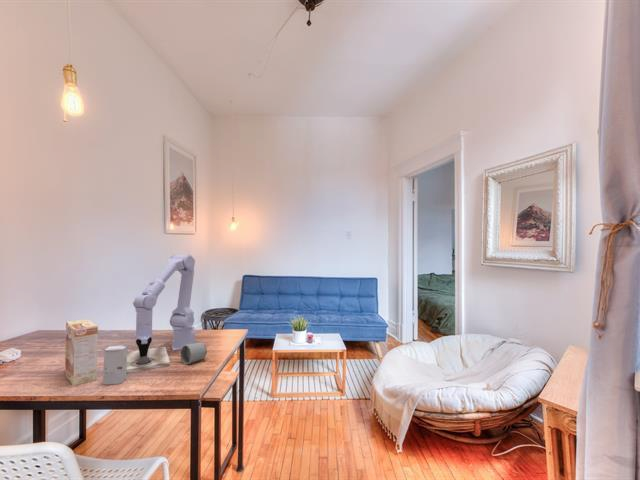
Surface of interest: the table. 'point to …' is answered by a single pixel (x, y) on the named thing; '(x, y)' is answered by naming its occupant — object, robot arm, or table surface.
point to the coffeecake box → (81, 351)
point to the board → (154, 354)
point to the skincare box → (115, 364)
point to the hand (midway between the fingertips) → (143, 356)
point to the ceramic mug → (193, 352)
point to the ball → (143, 360)
